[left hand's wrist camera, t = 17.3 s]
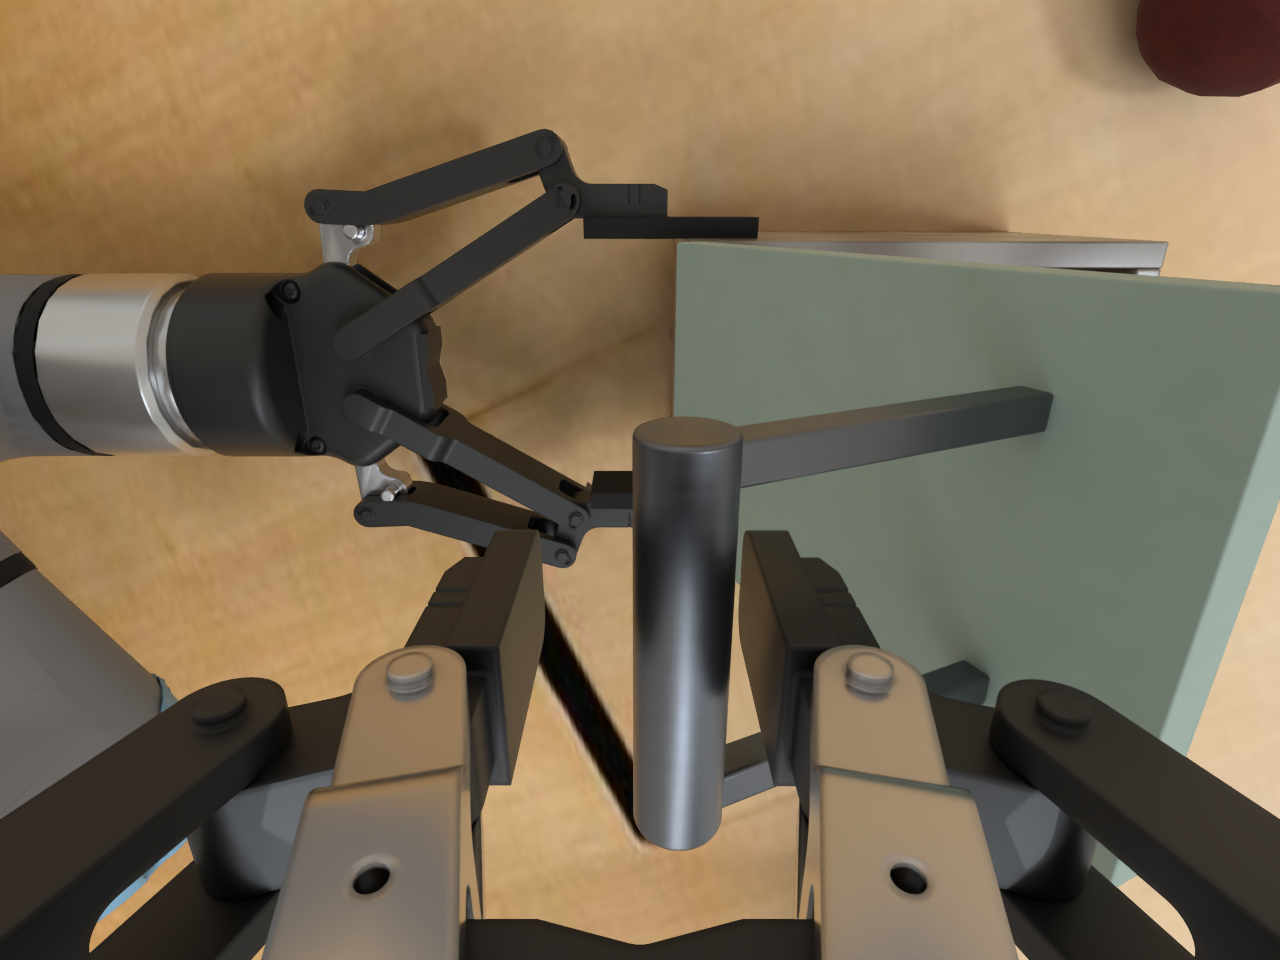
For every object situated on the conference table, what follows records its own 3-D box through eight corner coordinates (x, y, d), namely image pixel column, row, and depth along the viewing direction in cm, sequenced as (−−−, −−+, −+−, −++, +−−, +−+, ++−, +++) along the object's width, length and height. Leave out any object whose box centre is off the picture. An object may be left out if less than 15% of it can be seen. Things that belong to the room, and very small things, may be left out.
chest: (1009, 232, 34) (1170, 241, 23) (972, 435, 37) (1096, 520, 27) (674, 231, 34) (689, 240, 23) (671, 435, 37) (682, 519, 27)
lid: (1358, 290, 9) (814, 340, 6) (1145, 871, 13) (743, 1118, 9) (704, 241, 23) (437, 246, 20) (695, 523, 27) (469, 569, 23)
